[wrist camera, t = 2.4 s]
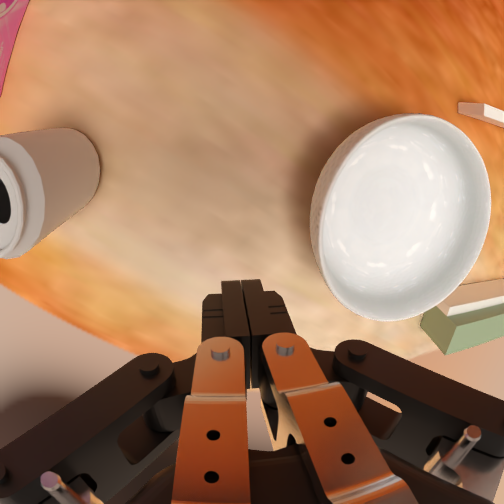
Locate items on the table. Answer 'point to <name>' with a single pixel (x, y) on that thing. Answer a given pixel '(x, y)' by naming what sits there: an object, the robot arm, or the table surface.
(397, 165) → the cereal bowl
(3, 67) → the gum box
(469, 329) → the green and white frame
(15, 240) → the can
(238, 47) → the table surface
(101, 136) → the table surface
